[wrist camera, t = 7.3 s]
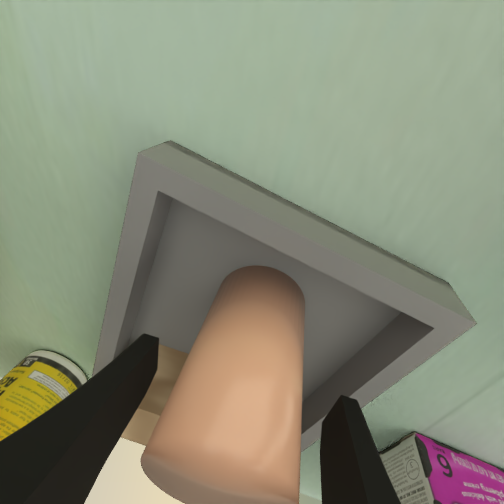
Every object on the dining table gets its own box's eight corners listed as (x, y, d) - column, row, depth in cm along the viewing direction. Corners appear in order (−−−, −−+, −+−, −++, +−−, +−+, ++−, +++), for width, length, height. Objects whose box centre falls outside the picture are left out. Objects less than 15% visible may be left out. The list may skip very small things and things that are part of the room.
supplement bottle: (41, 337, 21) (-131, 497, 13) (100, 377, 23) (-22, 545, 14) (20, 363, 24) (-135, 510, 16) (75, 397, 25) (-42, 550, 17)
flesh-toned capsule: (317, 281, 13) (324, 479, 7) (290, 343, 16) (274, 534, 9) (226, 254, 14) (140, 420, 7) (213, 319, 16) (140, 490, 9)
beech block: (207, 360, 18) (182, 423, 15) (198, 393, 20) (175, 455, 17) (148, 340, 18) (111, 399, 15) (145, 376, 20) (112, 434, 17)
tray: (448, 283, 13) (476, 323, 11) (273, 437, 22) (269, 475, 20) (170, 140, 12) (138, 152, 10) (110, 365, 21) (87, 396, 19)
